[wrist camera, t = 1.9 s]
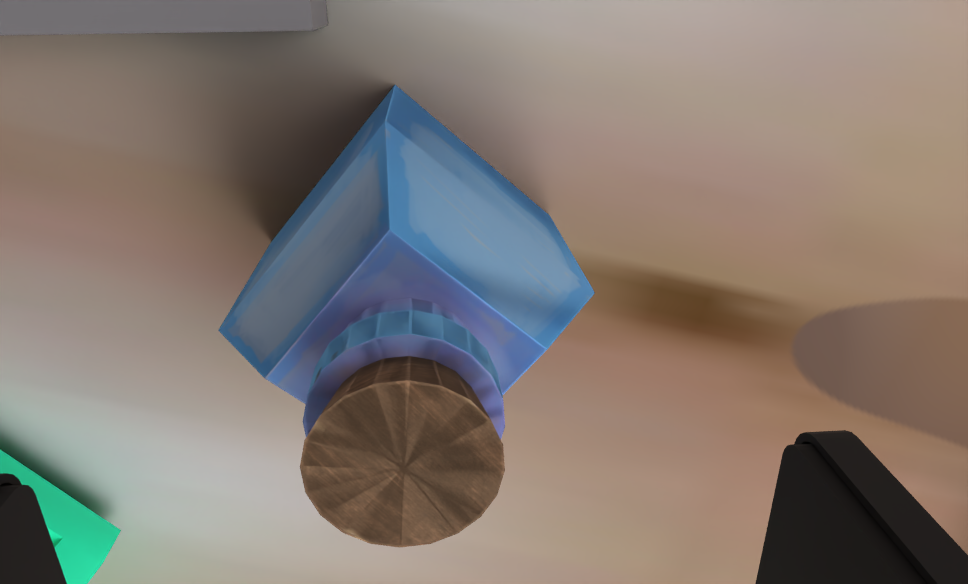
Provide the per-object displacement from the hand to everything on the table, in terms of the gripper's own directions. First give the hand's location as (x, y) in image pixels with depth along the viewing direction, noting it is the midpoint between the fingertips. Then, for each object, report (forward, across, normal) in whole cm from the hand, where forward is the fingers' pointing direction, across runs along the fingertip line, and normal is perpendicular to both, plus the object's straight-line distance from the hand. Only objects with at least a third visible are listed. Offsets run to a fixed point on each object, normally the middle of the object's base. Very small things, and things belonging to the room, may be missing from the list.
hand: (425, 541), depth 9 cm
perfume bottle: (+14, 0, +1) cm, 14 cm away
